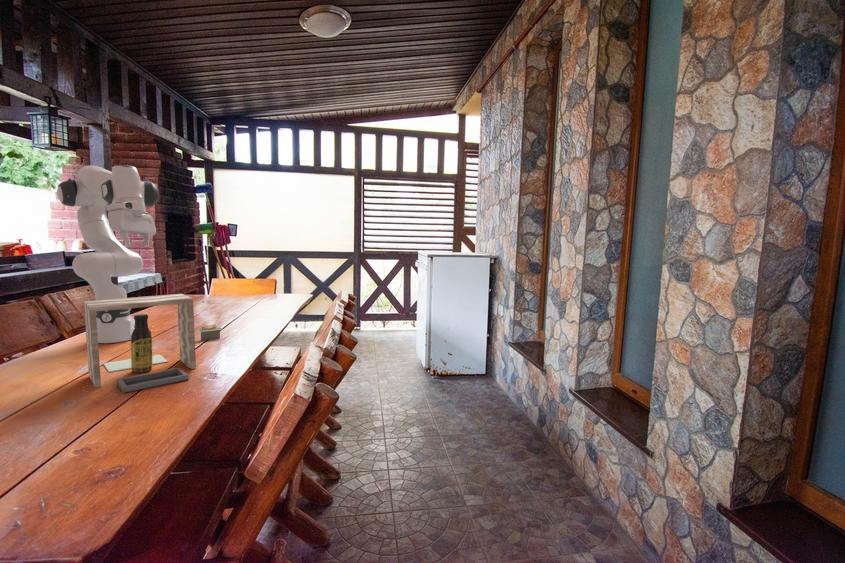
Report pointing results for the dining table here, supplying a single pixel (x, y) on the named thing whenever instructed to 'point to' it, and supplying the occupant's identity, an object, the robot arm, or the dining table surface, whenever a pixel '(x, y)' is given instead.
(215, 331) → the platform
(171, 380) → the tray
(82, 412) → the dining table surface
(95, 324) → the tunnel
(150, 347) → the sauce bottle
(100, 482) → the dining table surface
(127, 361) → the pad
